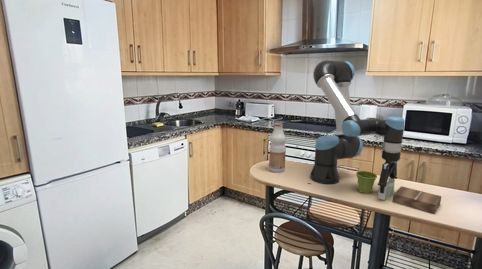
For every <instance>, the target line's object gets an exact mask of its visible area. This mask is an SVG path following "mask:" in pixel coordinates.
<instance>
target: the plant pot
mask: <svg viewBox="0 0 482 269" xmlns="http://www.w3.org/2000/svg"><path fill="white" fill-rule="evenodd" d="M355 174H356V177H357V191H358V192H360V193H362V194H371V193H372V192H373V189H374V188H373V187H374V184H375V181H376V179H377V178H378V175H377V174H376V173H374V172H370V171H367V170H366V171H365V170H364V171H363V170H359V171H357V172H356V173H355Z"/></svg>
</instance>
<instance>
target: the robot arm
mask: <svg viewBox="0 0 482 269" xmlns="http://www.w3.org/2000/svg"><path fill="white" fill-rule="evenodd" d="M355 74H356V73H355V67H354V65H353V64H352V63H351V62H349V61H347V60H329V59H328V60H322V61H320V62H318V63H317V64H316V66H315V68H314V69H313V75H312V76H313V77H312V78H313V80H314V83H315V85H316V87H317V88H319V89H321V91H322V92H323V93H324V96H325V97H326V99H327V100H328V102H329V103H330V105H331V107H332V108H333V110H334V117H335V126H336V127H335V128H336V132H335V133H334V135H331V134H330V135H322V136H319V137H317V139H316V140H315V145H314V147H315V148H314V151H315V152H314V164H313V167H312V169H311V172H310V176H309V177H310V179H311V181H313V182H316V183H318V184H324V185H335V184H337V183H339V181H340V175H339V171H338V160H344V159H352V158H355V157H358V156H360V154H361V153H362V151H363V147H364V146H363V145H364V143H363V141H362V139H361V138H360V136H372V135H376V136H381V137H383V143H382V150H381V159H382V160H384V161H385V162H384V163H382V164H381V166H382V167H381V171H380V176H379V180H378V183H377V186H380V187H378V194H379V195H377V196H378V197H377V199H379V200H382V201H386V197H385V195H386V187H387V186H386V184H387V182H390V183H394V184H395V181H396V180H397V179H398V162H399V161H400V160H401V154H402V153H401V152H402V148H403V147H404V145H402V144H403V137H404V132H405V119H404V118H403V117H399V116H387V117H386V119H381V118H377V117H370V116H369V117H366V118H365V119H364V118H363V119H361V118H360V117H359V116H358V114H357V112H356V111H355V109H354V107H353V106H352V105H351V98H350V89H349V88H350V86H351V84H352V80H354V77H355ZM382 183H383V184H382Z"/></svg>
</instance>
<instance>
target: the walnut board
mask: <svg viewBox="0 0 482 269" xmlns="http://www.w3.org/2000/svg"><path fill="white" fill-rule="evenodd" d="M441 201H442V196H441V195H438V194H433V193H430V192H426V191H423V190H417V189H414V188H410V187H406V186H400V187H399V188H398V189H396V190H395V192H393V196H392V203H394V204H397V205H401V206H405V207H409V208H410V209H411V208H412V209H416V210H418V211H422V212H426V213H429V214H432V215H436V212H437V211H438V209H439V207H440V205H441Z"/></svg>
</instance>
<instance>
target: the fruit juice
mask: <svg viewBox="0 0 482 269" xmlns="http://www.w3.org/2000/svg"><path fill="white" fill-rule="evenodd" d="M283 126H284V124H283V123H280V122H274V124H273V127H274V129H273V132H272V134H270V137H269V140H270V141H269V142H270V144H269V153H268V154H269V155H268V156H269V158H268V170H269V171H270V172H271V171H272V173H276V174H277V173H284V172H285V170H286V153H287V151H286V150H287V148H286V140H287V138H286V135H285V133H284V129H283Z"/></svg>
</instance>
